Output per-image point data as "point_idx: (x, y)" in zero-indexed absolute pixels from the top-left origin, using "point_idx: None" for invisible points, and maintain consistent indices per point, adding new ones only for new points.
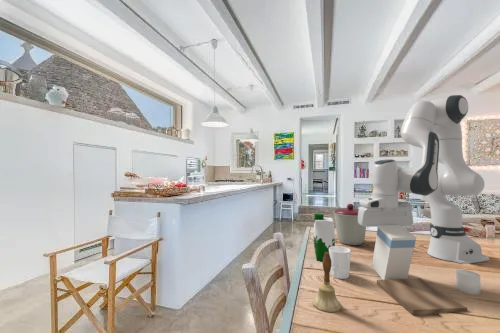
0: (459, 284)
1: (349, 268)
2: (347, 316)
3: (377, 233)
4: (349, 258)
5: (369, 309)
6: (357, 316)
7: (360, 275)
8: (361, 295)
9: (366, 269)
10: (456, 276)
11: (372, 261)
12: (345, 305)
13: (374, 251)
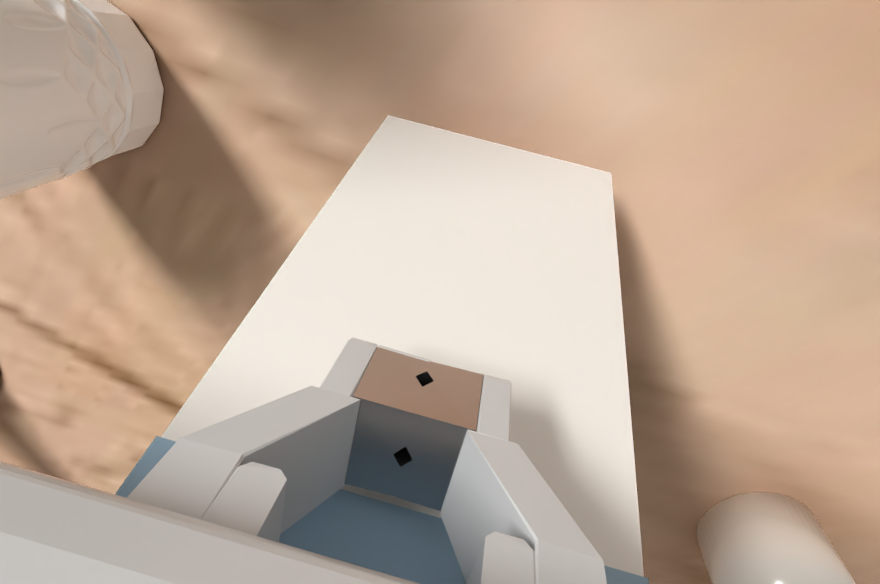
0: (715, 559)
1: (108, 146)
2: (9, 443)
3: (134, 486)
4: (8, 193)
5: (117, 444)
6: (48, 456)
7: (259, 140)
8: (132, 354)
9: (387, 45)
10: (752, 579)
11: (371, 139)
12: (22, 389)
13: (320, 218)
